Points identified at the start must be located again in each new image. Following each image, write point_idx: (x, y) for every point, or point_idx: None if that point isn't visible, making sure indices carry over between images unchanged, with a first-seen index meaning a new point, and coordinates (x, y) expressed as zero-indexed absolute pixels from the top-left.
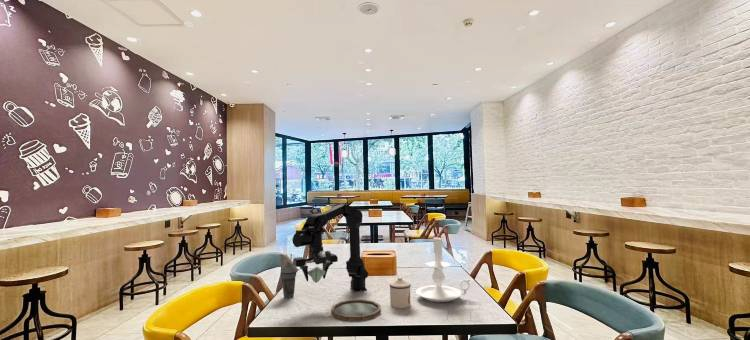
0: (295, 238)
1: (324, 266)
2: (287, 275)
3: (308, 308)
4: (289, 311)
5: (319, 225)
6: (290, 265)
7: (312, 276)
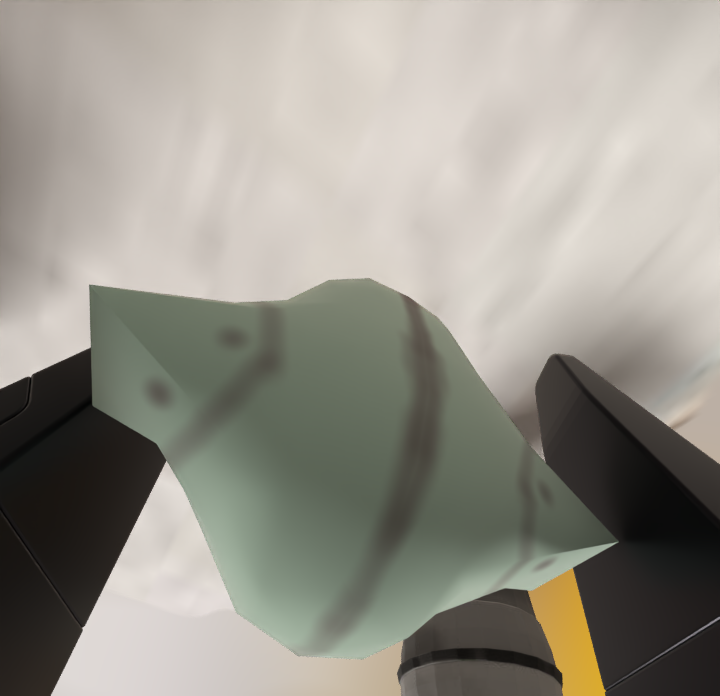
0: None
1: (14, 572)
2: (530, 640)
3: (496, 151)
4: (683, 198)
5: None
6: None
7: (485, 390)
